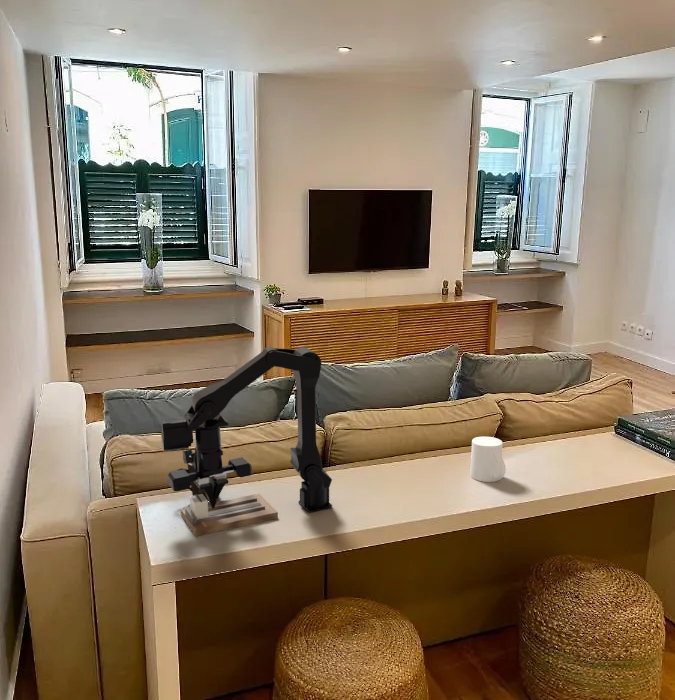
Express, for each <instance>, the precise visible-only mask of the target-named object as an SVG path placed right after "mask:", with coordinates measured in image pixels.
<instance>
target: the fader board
mask: <svg viewBox="0 0 675 700" xmlns="http://www.w3.org/2000/svg"><path fill="white" fill-rule="evenodd" d="M180 515H181V517H182V519H183V520H184V522H185V523H186V525H187V526H188V528H189V529H190V530H191V532H192V534H193V535H194V536H195V537H199V536H203V535H208V534H207V533H209V534H213V533H216V532H217V531H218V532H221V530H222V531H225V530H230V528H231V529H235V528H239V527H240V528H241V527H242V526H243V527H244V526H247V525H252V524H253V525H254V524H256V523H261V522H265V521H269V520H275V519H279V518H278V517H279V513H278V510H277V509H275V508H274V507H273V506H272V505H271V503H270V502H269V501H268V500H266V499H265V498H264V497H263V496H262V495H261V493H253V494H251V495H245V496H241V497H235V498H231V499H226V500H220V501H217V502H216V505H215V507H214V508H212V507H211V506H210V503H208V518H203V519H198V520H197V517H196V516H195V515H194V513H193V512H192V511H191V509H190V507H185V508H182V509H180ZM212 532H213V533H212Z"/></svg>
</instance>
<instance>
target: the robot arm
mask: <svg viewBox="0 0 675 700" xmlns="http://www.w3.org/2000/svg"><path fill="white" fill-rule="evenodd" d="M275 367H278V368H282V369H287V370H292V374H293V377H294V380H295V383H296V391H297V393H296V394H297V396H296V397H297V436H298V437H297V444H296V446H295V447H290V449H289V450H290V455H291V458H290V461H289V462H290V464H291V465H292V466H293V469H294V470H295V471H296V473H297V474H298V476H300V478H301V479H302V480H303V481H301V483H300V484H301V487H300V488H299V500H298V504H299V505H300V506H302V508H304V509H305V510H306V511H307V512H308V513H313V512H317V511H322V510H325V509H330V508H333V504H332V503H330V486H331V484H332V481H333V479H332V478H331V476H330V475H329V474H328V473H327V472H326V471H325V469H323V463H322V457H321V455H320V451H319V447H318V445H317V414H316V413H317V410H316V409H317V407H316V405H317V404H316V403H317V402H316V398H317V396H316V395H317V394H316V390H317V389H316V387H317V384H318V381H319V380H320V376H321V375H320V374H321V371H322V359H321V357H320V356H319V355H318V354H317V353H316V352H314V351H313V350H311V349H310V348H308V347H306V346H304V347H303V346H301V347H298V348H296V349H293V348H283V347H282V348H279V347H278V348H277V347H273V346H267V347H264V349H263V350H262V351H260V353H258V354H257V355H256V356H254V357H253V358H252V359H250V360H249V361H248V362H246V363H244V364H243V365H242V366H241V367H239V368H238V369H236V370H235V371H234V372H232V373H231V374H230V375H228V376H226V378H224V379H223V380H221V381H219V382H216V383H213V384H209V385H208V386H206V387H204V388H202V389H200V390H198V391H196V393H194V394H193V396H192V398H191V405H190V407H189V409H188V410H187V411H186V413H184V419H177V420H162V421H161V432H160V435H161V437H160V438H161V444H162V445H161V447H162V450H163V452H171V451H180V450H182V460H183V463H184V465H186V464H188V463H192V466H194V468H195V469H197V470H198V472H193V473H189V474H188V473H187V472H186V471H185V469H186V468H183V469H182V470H178V469H176V470H177V471H176V470H173V471H170V472H169V473H168V474H167V484H168V485H169V487H170V488H171V490H173V492H181V491H185V490H186V491H187V490H189V487H191V482H192V481H194V483H195V484H196V485H197V486H198V488H199V489H203V490H204V492H205V494H206V496H207V499H208V501H209V502H208V504H210V506H211V507H212V508H214V507H215V505H216V502H218V499H219V498H220V495H221V493H222V491H223V489H224V487H225V486H226V485H227V484H229V480H228V479H227V475H230V474H232V473H233V474H234V473H235V474H236V475H237V477H239V478H245V477H249V476H252V475H253V467H252V464H251V463H250V462H249V461H248V460H246V458H244V457H242V456H241V457H237V458H233V459H229V460H228V461H227V462H228V463H227V465H224V466H223V456H224V451H223V449H222V440H221V439H222V438H221V427H228V426H229V422H228V420H227V418H225V417H224V416H222V414H221V413H222V412H223V411H224V410H225V408H227V406H228V405H229V403H230V402H231V401H232V400H233V398H234V397H235V396H236V395H237V394H239V393H240V392H241V391H243V390H244V389H246V388H247V387H248V386H250V385H251V384H253V383H254V382H256V380H258V379H259V378H261V377H262V376H263V375H265V374H267V372H269V371H271V369H272V368H275ZM193 432H194V435H193ZM194 436H195V437H194ZM194 439H195V440H194ZM194 441H195V447H194V452H193V450H192V449H189V448H190V447H192V444H194ZM209 478H210V482H211V483H210V482H209Z"/></svg>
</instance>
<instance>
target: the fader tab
mask: <svg viewBox="0 0 675 700" xmlns="http://www.w3.org/2000/svg"><path fill="white" fill-rule="evenodd" d="M208 504H209V502H208V500H207V499H206V498H205V496H204V495H203V494H199V495H197V494H196V495H194V496H193V495H190V496H189V505H190V507H189V508H190V509H191V511H192V512H193V513H194V515H195V516H196V517H197V520H198V519H203V518H208Z"/></svg>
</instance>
